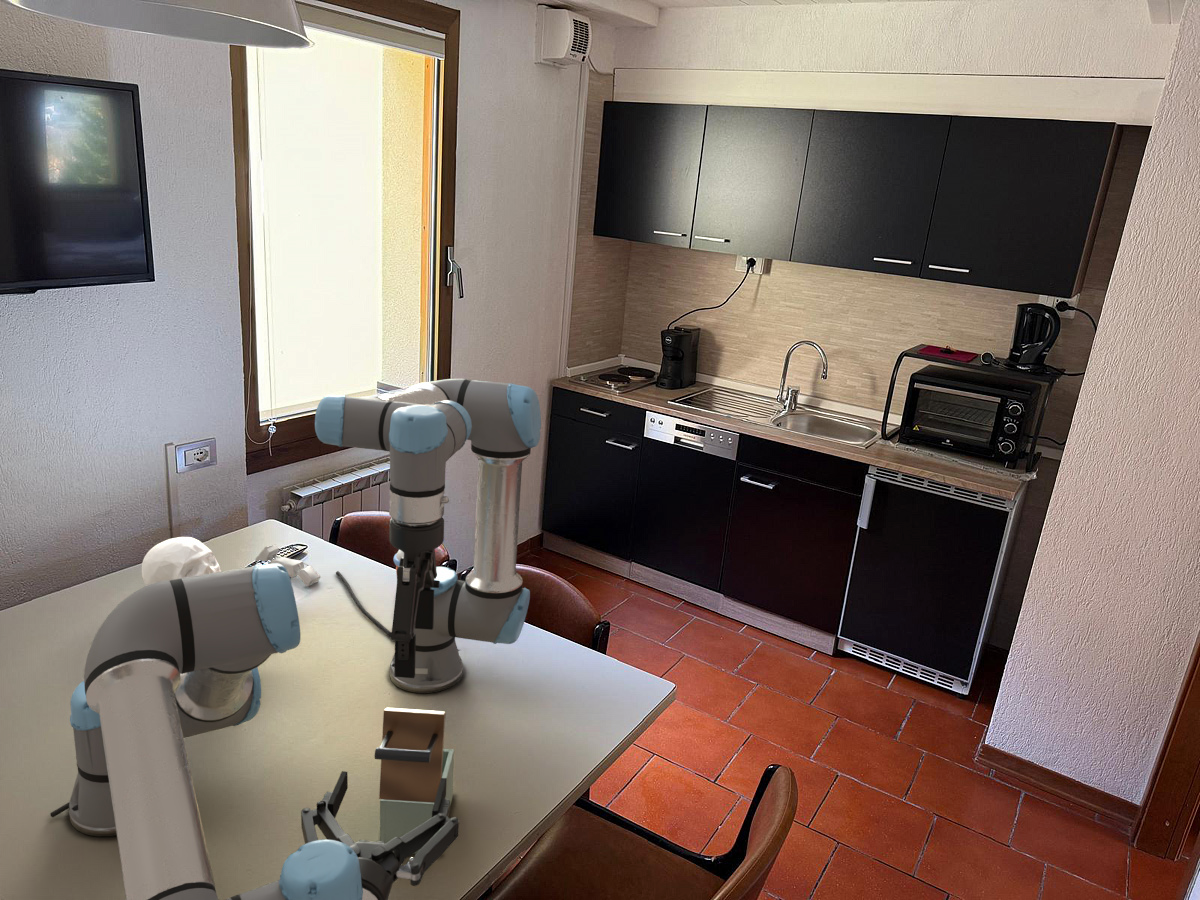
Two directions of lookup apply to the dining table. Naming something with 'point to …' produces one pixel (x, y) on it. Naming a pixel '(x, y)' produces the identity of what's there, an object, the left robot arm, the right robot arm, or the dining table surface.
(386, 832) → the chest
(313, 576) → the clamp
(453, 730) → the dining table surface
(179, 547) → the skull
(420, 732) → the lid
